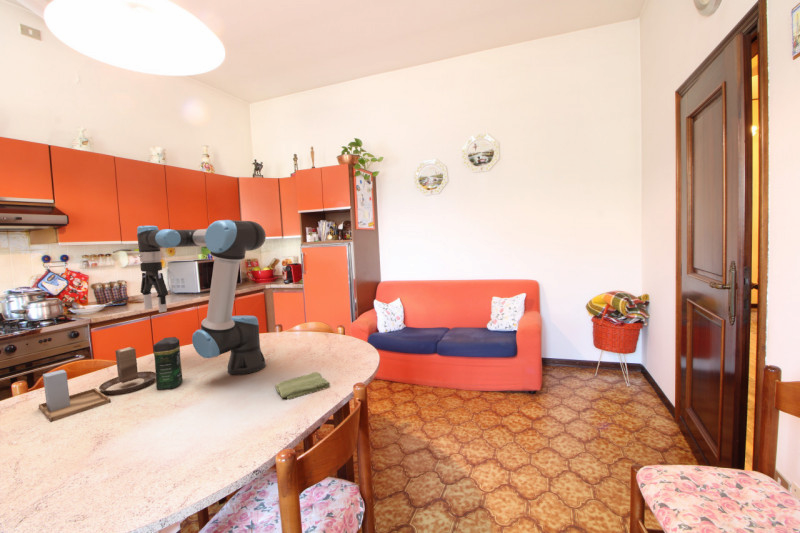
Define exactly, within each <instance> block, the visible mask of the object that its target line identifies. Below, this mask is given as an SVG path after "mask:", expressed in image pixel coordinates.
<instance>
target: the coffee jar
mask: <svg viewBox="0 0 800 533" xmlns="http://www.w3.org/2000/svg"><path fill="white" fill-rule="evenodd" d="M152 347H153V356H154V364H155V366H154V367H155V373H156V376H155V385H156V386H155V387H156V389H157V390H164V391H165V390H170V389H174V388H176V387H178V386H180V384H181V383H182V382H183V370H182V360H181V344H180V339H179V338H177V337H176V336H170V337H163V338H162V339H160V340H159V341H157V342H156V343H154V344H153V346H152Z"/></svg>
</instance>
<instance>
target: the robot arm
mask: <svg viewBox="0 0 800 533" xmlns="http://www.w3.org/2000/svg"><path fill="white" fill-rule="evenodd" d="M136 237H137V245H138V252H139V253H138V255H137V257H139V262H140V263H139V265H140V272H141V275H142V276H141V282H140V283H141V284H140V293H141V294H142V295H143V306H144V310H153V301H152V291H151V290H152V288H153V287H154V289H155V291H156V294H157V296H156V298H157V304H158V313H163V312H164V313H165V312H167V311H168V309H167V308H168V307H167V296H168V295H169V292H168V288H167V285H166V283H165V280H164V274H163V273H162V272H160V271H162V270H163V263H162V251H161V249H168V248H169V249H170V248H171V249H172V248H184V247H185V248H187V247H189V248H192V247H206V249H207V250H209V252H210V256H211V257H212V258H213V260H214V261H213V267H212V273H211V274H212V276H211V283H210V290H209V298H208V305H207V313H206V317H205V318H204V319H203V320H202V321H201V324H200V329H196V330H195V331H194V332H193V333H192V337H191V343H192V346H193V349H194V350H195V352H196V353H197V354H198V355H199V356H200V357H202V358H204V359H211V358H216V357H217V358H218V357H219V356H220V355H223V354H226V353H228V352H230V355H229V360H228V363H227V366H226V367H227V369H226V370H227V372H228V374H230V375H235V376H236V375H237V376H239V375H240V376H241V375H248V374H251V373H255V372H258V371H260V370H263V369H264V368H265V367H266V359H265V357H264V354H263V352H262V349H261V343H260V342H261V340H260V325H259V319H258V317H257V316H255V315H233V310H234V309H233V308H234V303H235V294H236V290H237V282H238V276H239V270H240V269H239V268H240V263H241V261H243V260H245V259H246V253H247V251H248V252H250V251H256V250H258V249H259V248H261V247H262V246H263V245H264V243H265V242H266V238H267V234H266V231H265V228H263V226H262V225H260V224H259V223H257V222H256V221H252V220H237V219H236V220H234V219H220V220H216V221H213V222H212V223H211V224H209V225H208V227H207V228H202V229H201V228H200V229H170V228H164V229H159V227H158V226H156V225H139V226H137V228H136ZM159 272H160V273H159Z"/></svg>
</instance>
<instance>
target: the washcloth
mask: <svg viewBox="0 0 800 533" xmlns="http://www.w3.org/2000/svg"><path fill="white" fill-rule="evenodd" d="M274 387H275V388H276V391H277V392H278V393H279V395H280V397H281V399H282V398H285V399H286V397H287V399H289V400H292V399H295V398H298V396H299V397H302V396H305V395H308V394H307V393H309V394H311V393H310V392H312V393H315V392H314V391H316V392H318V391H321V390H320V389H322V390H324V389H323V388H326V389H327V388H328V387H330V382H329V381H328V380H327V379H325V378H324V377H323V376H322V374H321V373H319V372H317V371H315V372H312V373H308V374H305V375H300V376H297V377H294V378H290V379H287V380H283V381H281V382H278V383H277V384H276V385H275V386H274ZM317 390H318V391H317ZM304 394H305V395H304ZM301 395H302V396H301ZM294 397H295V398H294ZM291 398H292V399H291ZM287 399H286V400H287Z"/></svg>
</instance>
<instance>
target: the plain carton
mask: <svg viewBox="0 0 800 533" xmlns="http://www.w3.org/2000/svg"><path fill="white" fill-rule="evenodd" d="M42 378H43V379H42V380H43V387H44V395H45V403H46V404H47V409H48V410H49V411H50V412H51V411H54V410H58V409H61V408H64V407H67V406H70V398H69V396H70V391H69V390H70V389H69V383H68V374H67V371H65V369H61V370H60V369H59V370H55V371H51V372H47V373H42Z"/></svg>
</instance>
